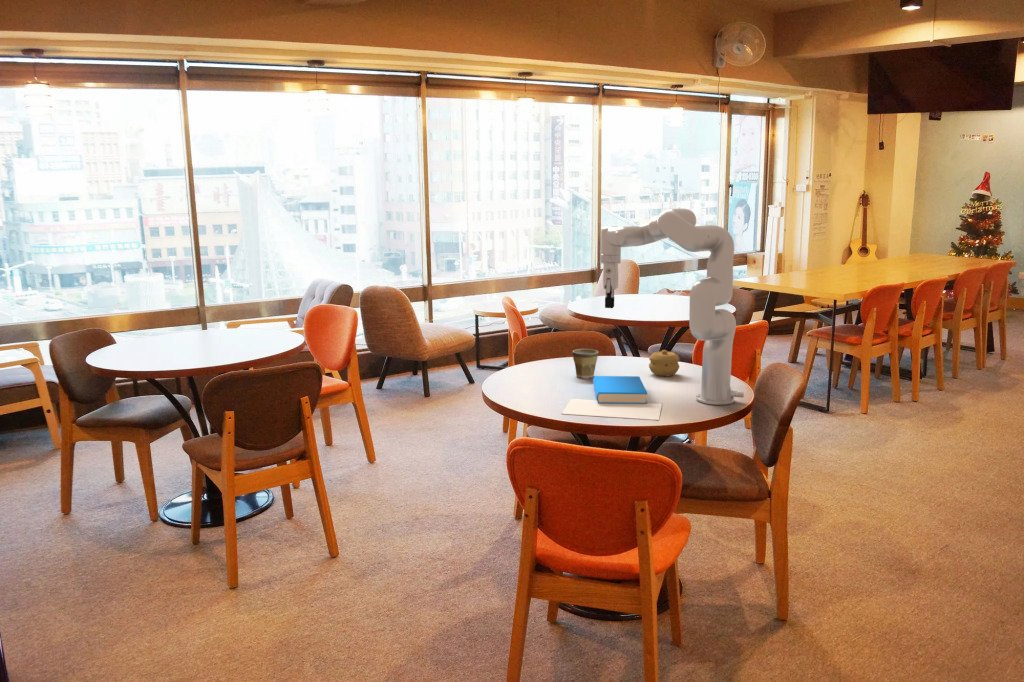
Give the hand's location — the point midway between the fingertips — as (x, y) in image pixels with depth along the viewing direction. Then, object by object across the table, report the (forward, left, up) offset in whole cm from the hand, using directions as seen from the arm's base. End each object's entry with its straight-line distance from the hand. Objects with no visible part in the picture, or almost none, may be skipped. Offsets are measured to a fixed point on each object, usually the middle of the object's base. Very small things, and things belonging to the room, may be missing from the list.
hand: (609, 307), depth 305 cm
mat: (-7, +47, -27) cm, 55 cm away
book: (-7, +28, -27) cm, 40 cm away
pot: (-21, -7, -27) cm, 35 cm away
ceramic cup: (+9, +1, -27) cm, 29 cm away
